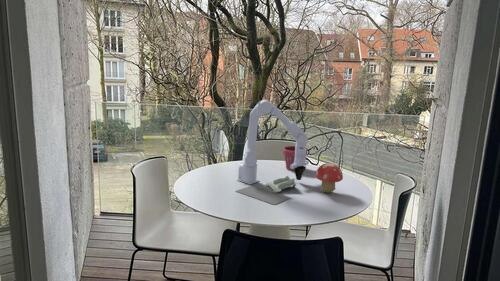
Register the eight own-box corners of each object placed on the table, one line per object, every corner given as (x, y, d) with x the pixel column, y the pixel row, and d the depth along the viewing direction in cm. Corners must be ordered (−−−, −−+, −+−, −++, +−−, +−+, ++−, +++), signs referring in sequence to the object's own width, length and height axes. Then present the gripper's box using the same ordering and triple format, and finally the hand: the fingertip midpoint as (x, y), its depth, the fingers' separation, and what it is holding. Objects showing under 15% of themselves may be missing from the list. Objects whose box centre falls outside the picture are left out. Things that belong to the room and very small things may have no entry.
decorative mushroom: (321, 198, 179) (323, 167, 176) (309, 188, 191) (311, 160, 188) (346, 196, 182) (349, 166, 179) (333, 187, 195) (335, 159, 192)
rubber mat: (235, 191, 183) (235, 190, 183) (253, 185, 193) (253, 185, 193) (274, 205, 168) (274, 204, 168) (291, 198, 177) (291, 197, 177)
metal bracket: (288, 172, 198) (299, 180, 184) (290, 182, 199) (302, 191, 185) (263, 181, 195) (272, 189, 181) (265, 191, 196) (275, 200, 182)
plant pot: (279, 170, 222) (280, 149, 219) (284, 164, 235) (285, 144, 232) (303, 173, 218) (305, 152, 215) (307, 167, 231) (308, 147, 228)
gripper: (298, 158, 189) (297, 184, 192) (314, 154, 200) (312, 178, 203) (287, 155, 194) (285, 180, 197) (303, 151, 205) (301, 175, 207)
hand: (298, 179), depth 200 cm, fingers closed
